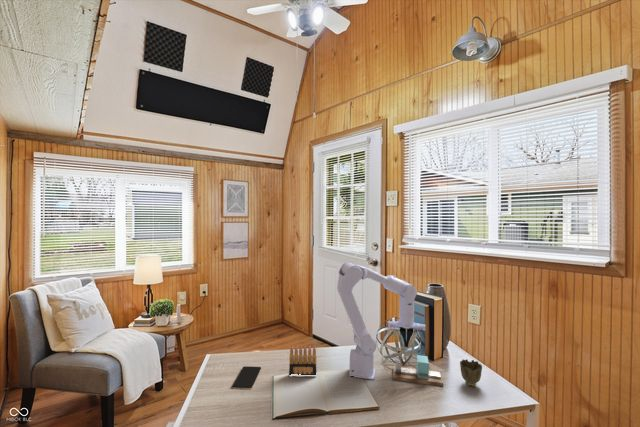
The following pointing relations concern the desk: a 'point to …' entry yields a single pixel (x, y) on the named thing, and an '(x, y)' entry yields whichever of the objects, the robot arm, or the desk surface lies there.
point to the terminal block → (422, 367)
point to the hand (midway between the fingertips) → (406, 346)
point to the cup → (471, 372)
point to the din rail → (414, 372)
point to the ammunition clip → (302, 361)
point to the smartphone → (246, 378)
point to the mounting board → (415, 378)
